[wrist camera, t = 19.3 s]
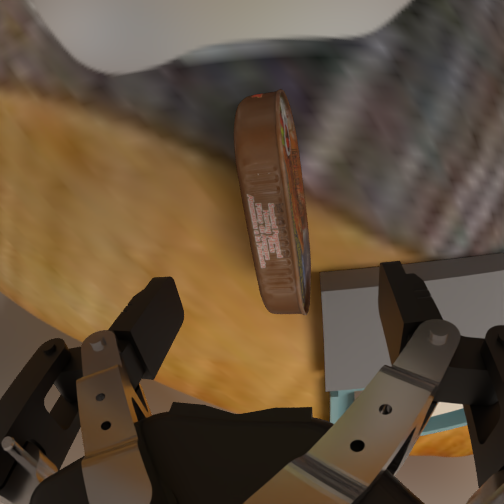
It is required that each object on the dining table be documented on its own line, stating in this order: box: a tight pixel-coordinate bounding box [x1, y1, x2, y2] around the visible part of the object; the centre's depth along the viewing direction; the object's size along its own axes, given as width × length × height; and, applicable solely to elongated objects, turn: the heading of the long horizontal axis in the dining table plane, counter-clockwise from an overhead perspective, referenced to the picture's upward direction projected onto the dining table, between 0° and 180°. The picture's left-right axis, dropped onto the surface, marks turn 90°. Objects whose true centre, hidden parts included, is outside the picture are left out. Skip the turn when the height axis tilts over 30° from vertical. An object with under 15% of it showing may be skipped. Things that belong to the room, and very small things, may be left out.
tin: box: [234, 89, 311, 315], centre depth 21 cm, size 15×3×8 cm, turn 9°
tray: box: [330, 388, 467, 436], centre depth 31 cm, size 19×10×4 cm, turn 99°
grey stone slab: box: [320, 253, 504, 392], centre depth 26 cm, size 20×12×3 cm, turn 99°
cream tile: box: [431, 402, 463, 417], centre depth 29 cm, size 5×5×2 cm
